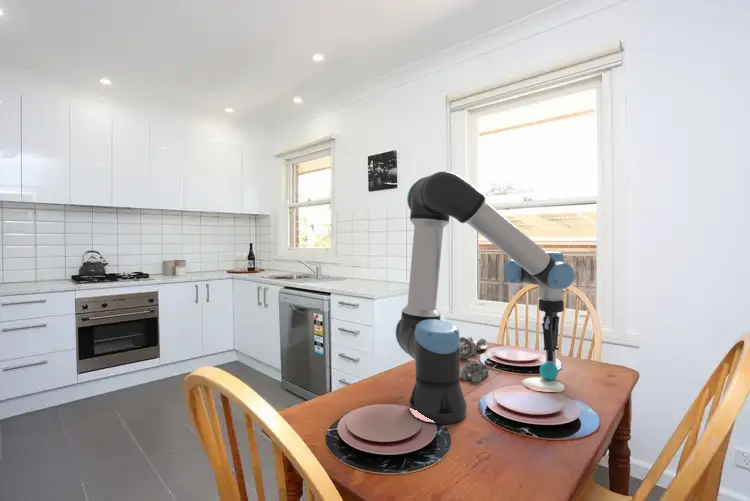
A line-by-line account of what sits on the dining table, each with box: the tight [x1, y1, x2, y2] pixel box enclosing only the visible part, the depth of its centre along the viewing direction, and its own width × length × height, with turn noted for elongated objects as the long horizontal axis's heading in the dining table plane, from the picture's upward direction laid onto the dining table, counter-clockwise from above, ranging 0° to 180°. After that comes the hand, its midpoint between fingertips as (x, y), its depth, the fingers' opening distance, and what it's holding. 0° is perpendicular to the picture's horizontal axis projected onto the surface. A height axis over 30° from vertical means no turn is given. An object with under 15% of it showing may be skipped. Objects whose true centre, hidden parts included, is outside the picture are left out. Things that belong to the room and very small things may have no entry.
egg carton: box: [460, 360, 491, 383], centre depth 128 cm, size 10×7×4 cm
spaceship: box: [460, 336, 488, 359], centre depth 147 cm, size 8×35×8 cm
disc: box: [521, 377, 565, 394], centre depth 120 cm, size 12×12×1 cm
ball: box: [539, 361, 559, 380], centre depth 124 cm, size 6×6×6 cm
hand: (551, 369), depth 127 cm, fingers closed
